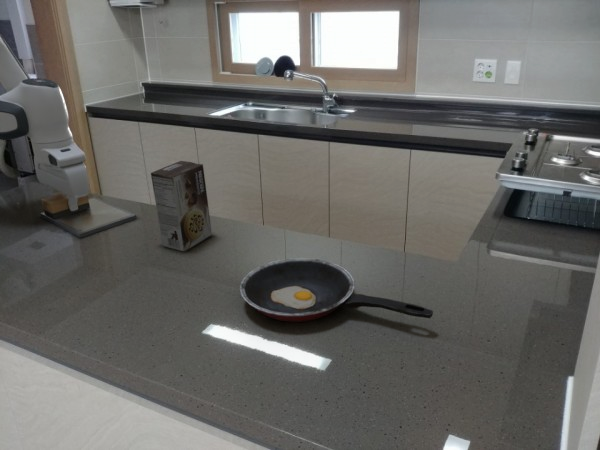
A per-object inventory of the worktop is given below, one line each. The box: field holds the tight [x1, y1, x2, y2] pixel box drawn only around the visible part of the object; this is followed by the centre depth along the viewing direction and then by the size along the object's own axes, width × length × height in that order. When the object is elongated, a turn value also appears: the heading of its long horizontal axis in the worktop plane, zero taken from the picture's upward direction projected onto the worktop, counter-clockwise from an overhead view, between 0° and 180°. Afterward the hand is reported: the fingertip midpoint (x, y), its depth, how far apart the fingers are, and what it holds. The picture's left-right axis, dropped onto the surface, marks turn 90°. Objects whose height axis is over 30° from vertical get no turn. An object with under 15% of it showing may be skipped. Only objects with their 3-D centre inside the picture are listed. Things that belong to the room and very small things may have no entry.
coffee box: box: [150, 160, 213, 252], centre depth 110 cm, size 9×6×16 cm
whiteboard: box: [40, 196, 137, 239], centre depth 128 cm, size 20×14×1 cm
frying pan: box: [239, 257, 434, 323], centre depth 86 cm, size 19×32×4 cm, turn 61°
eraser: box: [40, 193, 90, 219], centre depth 129 cm, size 5×9×4 cm, turn 137°
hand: (67, 207), depth 129 cm, fingers closed on eraser, 5 cm apart
